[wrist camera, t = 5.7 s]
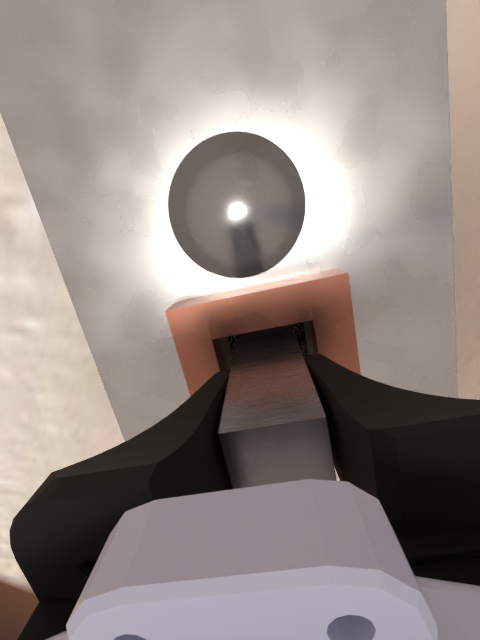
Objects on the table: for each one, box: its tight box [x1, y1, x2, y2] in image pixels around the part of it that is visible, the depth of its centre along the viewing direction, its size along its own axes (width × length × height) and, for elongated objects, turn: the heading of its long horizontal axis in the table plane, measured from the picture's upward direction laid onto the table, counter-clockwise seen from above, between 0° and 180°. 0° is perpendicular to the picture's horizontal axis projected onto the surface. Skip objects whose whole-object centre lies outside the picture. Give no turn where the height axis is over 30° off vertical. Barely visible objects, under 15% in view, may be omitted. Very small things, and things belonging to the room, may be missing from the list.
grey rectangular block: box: [218, 324, 336, 489], centre depth 12 cm, size 3×3×9 cm
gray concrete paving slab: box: [0, 0, 458, 442], centre depth 13 cm, size 16×25×4 cm, turn 12°
